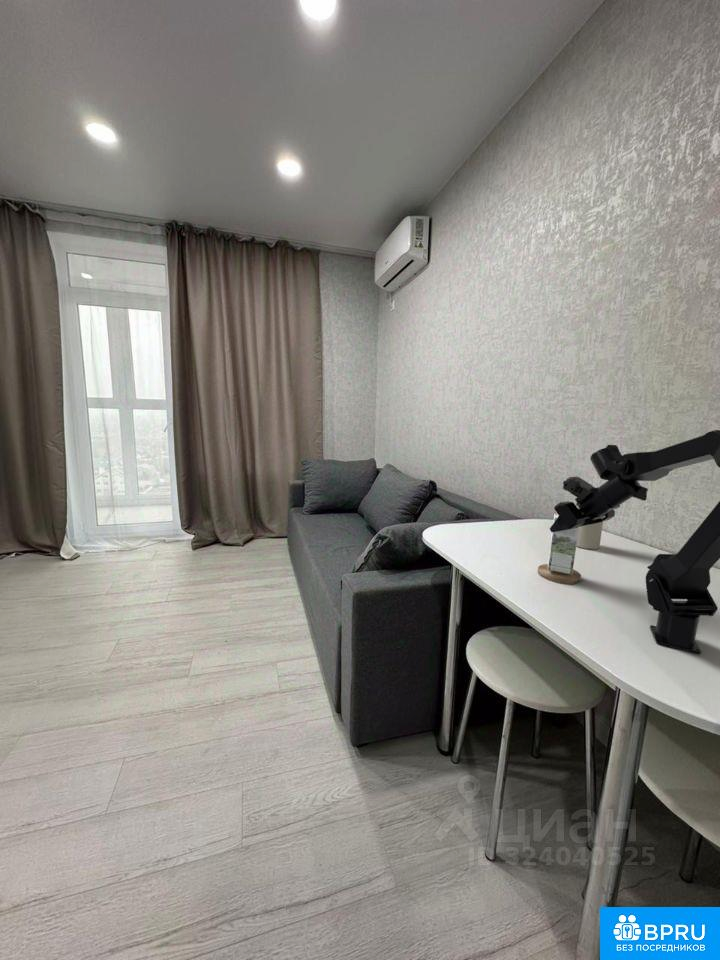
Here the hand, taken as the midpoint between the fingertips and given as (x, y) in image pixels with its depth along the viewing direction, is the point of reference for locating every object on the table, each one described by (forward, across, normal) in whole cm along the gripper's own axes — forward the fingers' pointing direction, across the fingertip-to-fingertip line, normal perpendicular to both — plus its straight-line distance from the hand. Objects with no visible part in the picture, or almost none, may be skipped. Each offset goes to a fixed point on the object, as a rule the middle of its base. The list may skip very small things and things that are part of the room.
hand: (559, 528), depth 99 cm
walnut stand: (+8, 0, +10) cm, 13 cm away
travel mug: (+15, -32, +3) cm, 35 cm away
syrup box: (+7, 0, +9) cm, 11 cm away
